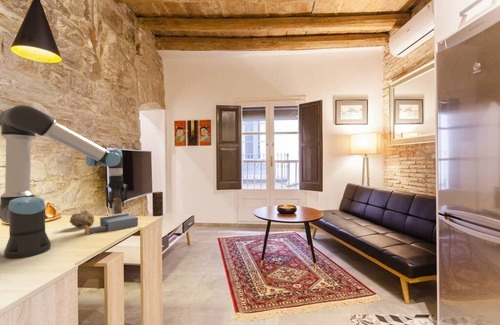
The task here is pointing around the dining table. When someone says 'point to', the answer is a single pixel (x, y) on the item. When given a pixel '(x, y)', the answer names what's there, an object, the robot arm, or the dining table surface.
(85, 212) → the rock
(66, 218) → the dining table surface
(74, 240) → the dining table surface
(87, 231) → the lock pin
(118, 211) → the peg
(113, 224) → the dock block
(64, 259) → the dining table surface
